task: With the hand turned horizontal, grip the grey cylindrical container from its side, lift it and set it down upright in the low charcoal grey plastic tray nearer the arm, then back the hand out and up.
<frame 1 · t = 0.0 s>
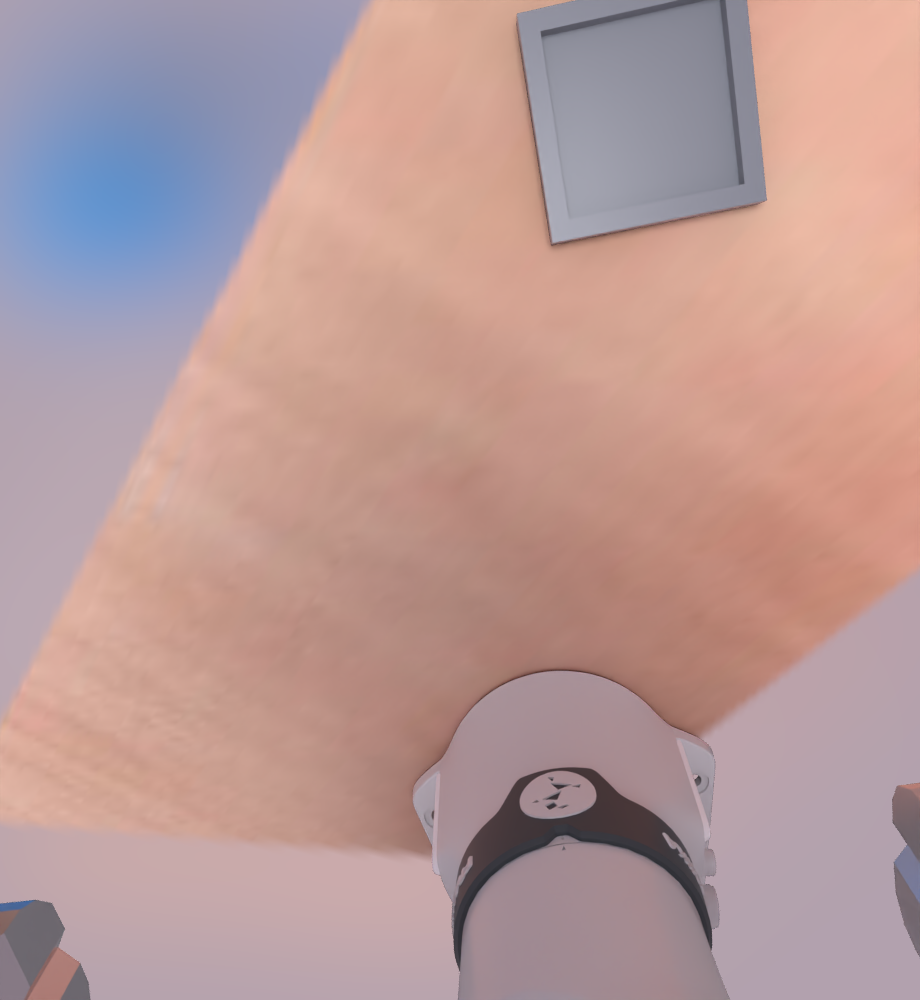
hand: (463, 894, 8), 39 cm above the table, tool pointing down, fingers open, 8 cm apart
tray: (638, 115, 42), on the table
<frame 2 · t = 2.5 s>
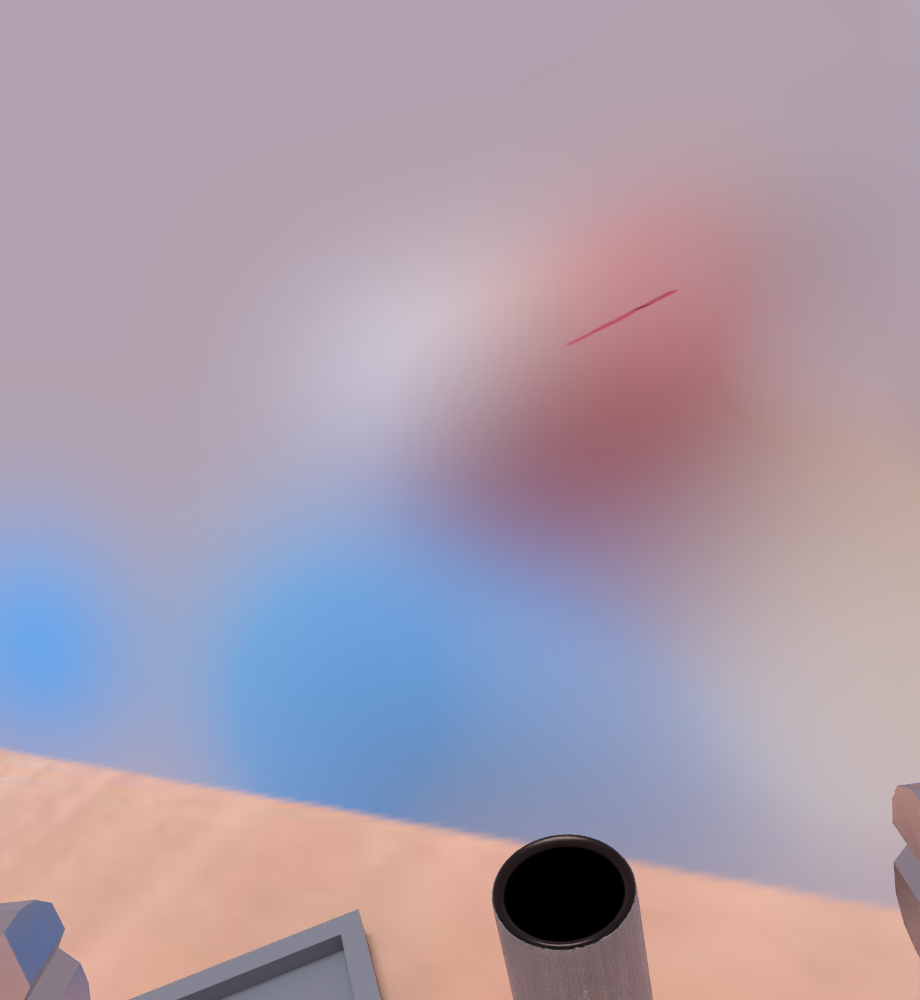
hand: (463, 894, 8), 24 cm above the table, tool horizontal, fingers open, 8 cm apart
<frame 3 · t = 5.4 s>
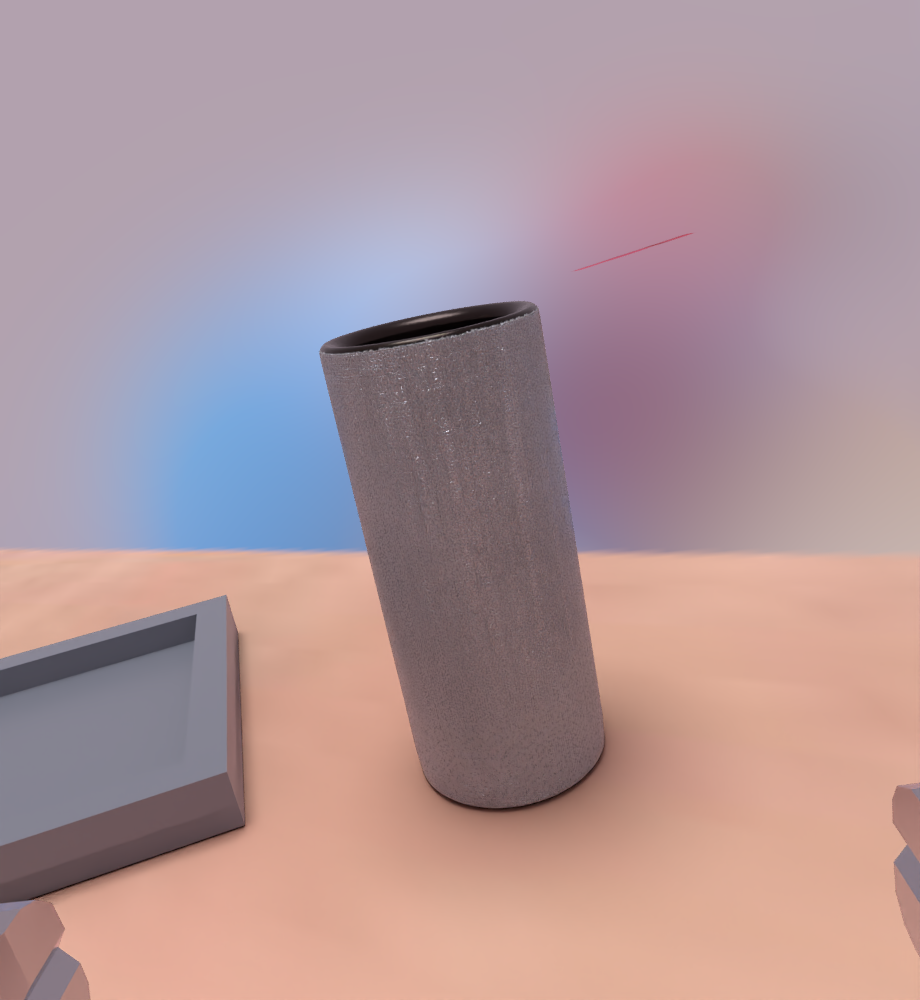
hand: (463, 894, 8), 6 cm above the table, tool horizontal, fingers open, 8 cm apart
tray: (45, 769, 23), on the table
grey cylindrical container: (513, 753, 20), on the table
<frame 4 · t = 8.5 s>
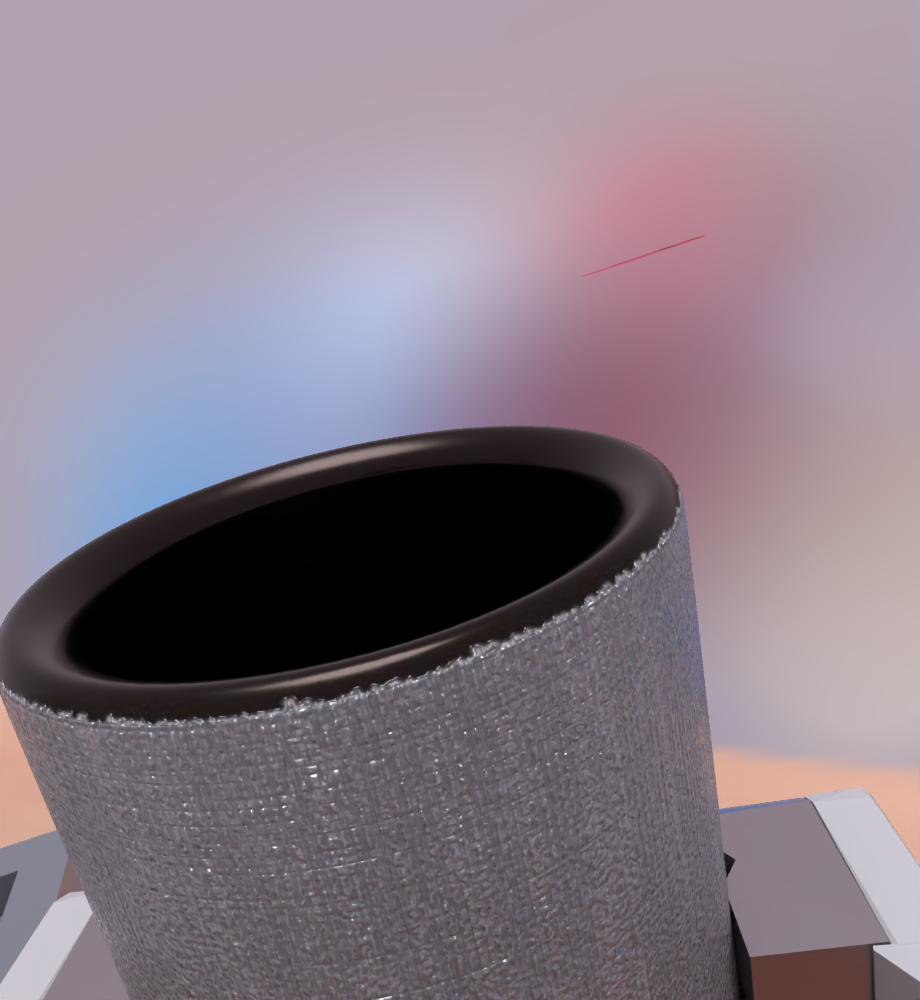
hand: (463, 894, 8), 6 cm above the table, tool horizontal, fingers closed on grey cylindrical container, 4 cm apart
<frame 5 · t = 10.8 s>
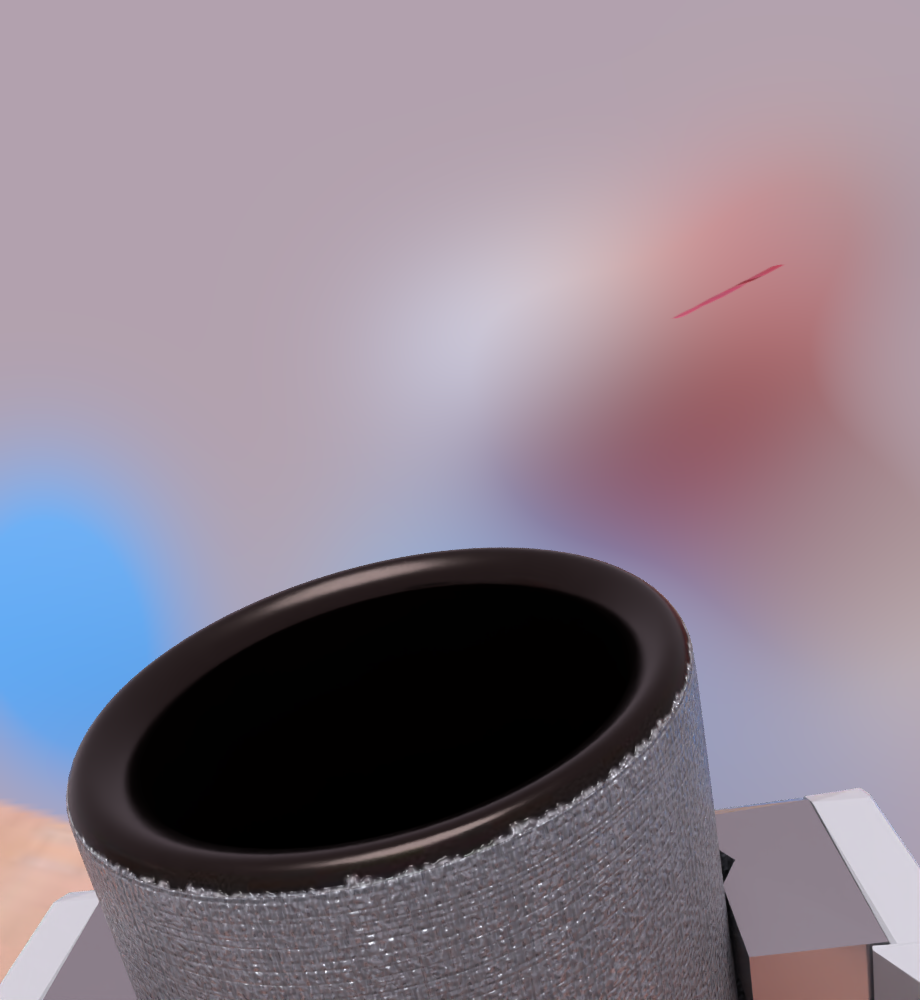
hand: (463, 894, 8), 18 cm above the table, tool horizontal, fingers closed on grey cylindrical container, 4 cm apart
when the fingers open (8 cm above the table, at t = 13.6 s): grey cylindrical container stays where it is, resting on tray.
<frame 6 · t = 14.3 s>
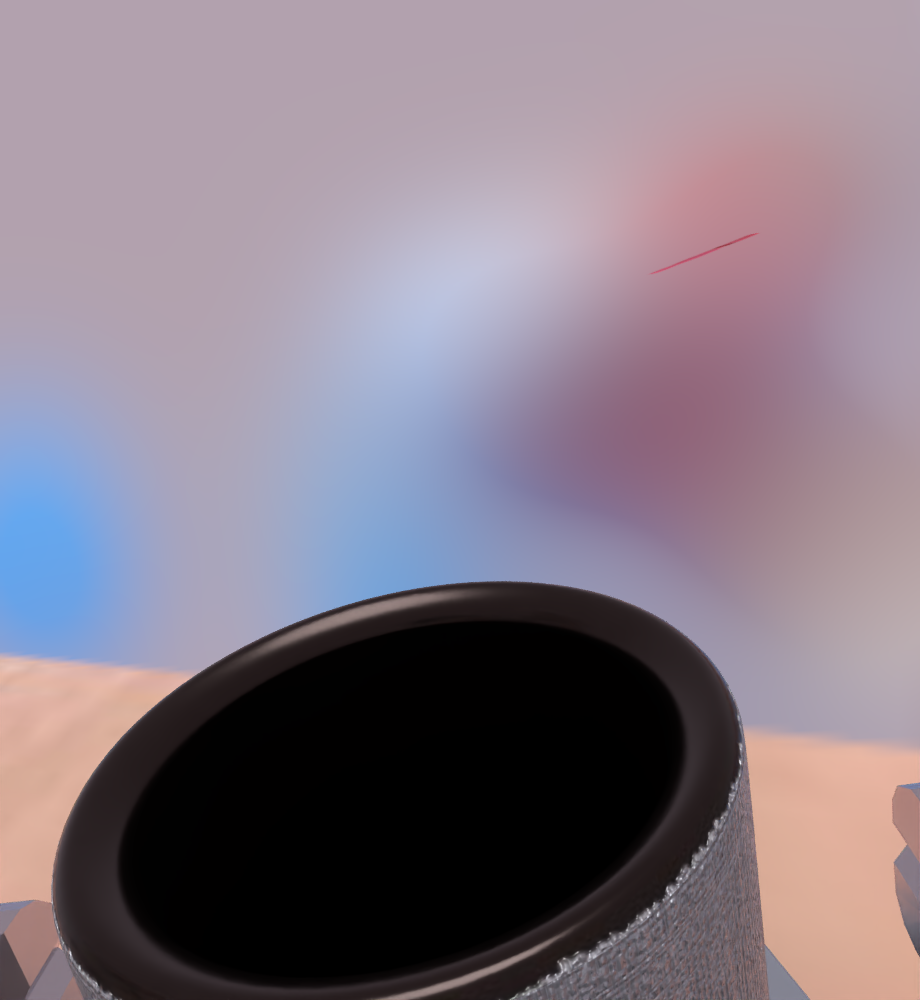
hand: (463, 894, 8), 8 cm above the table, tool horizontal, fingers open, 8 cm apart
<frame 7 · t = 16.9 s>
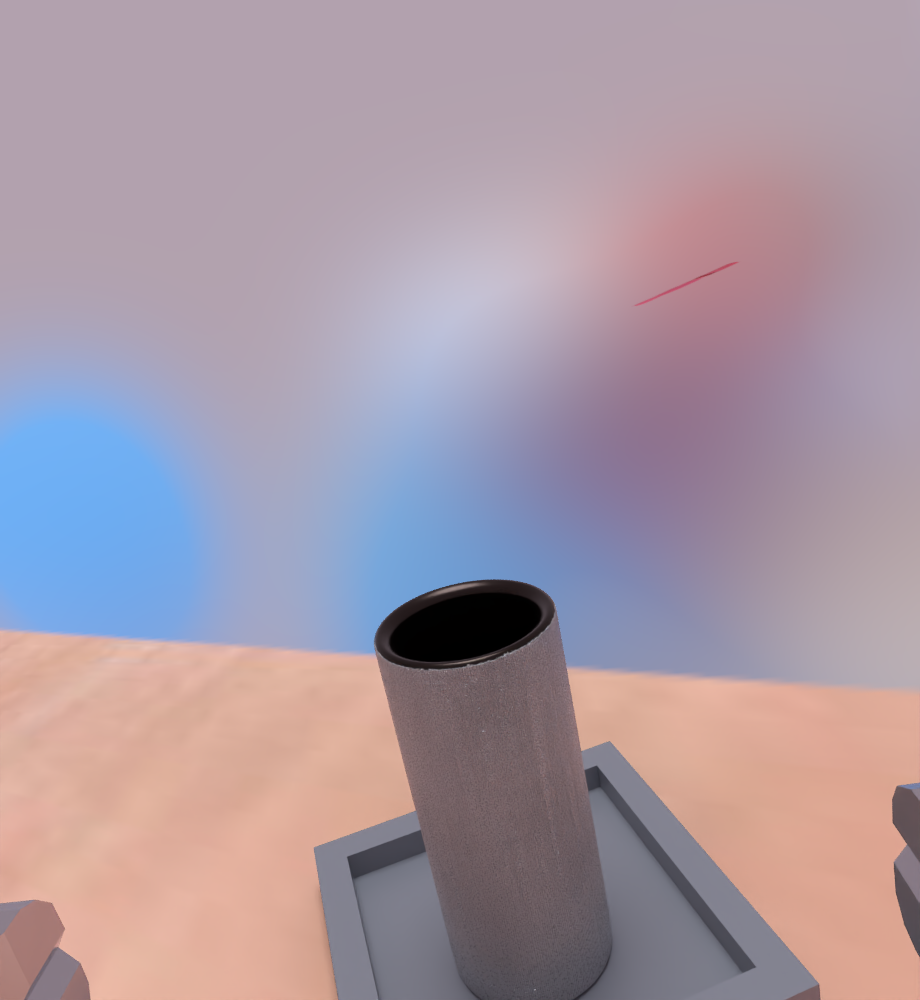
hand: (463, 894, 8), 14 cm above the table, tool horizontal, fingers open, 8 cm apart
tray: (531, 944, 23), on the table
grey cylindrical container: (533, 947, 23), resting on tray
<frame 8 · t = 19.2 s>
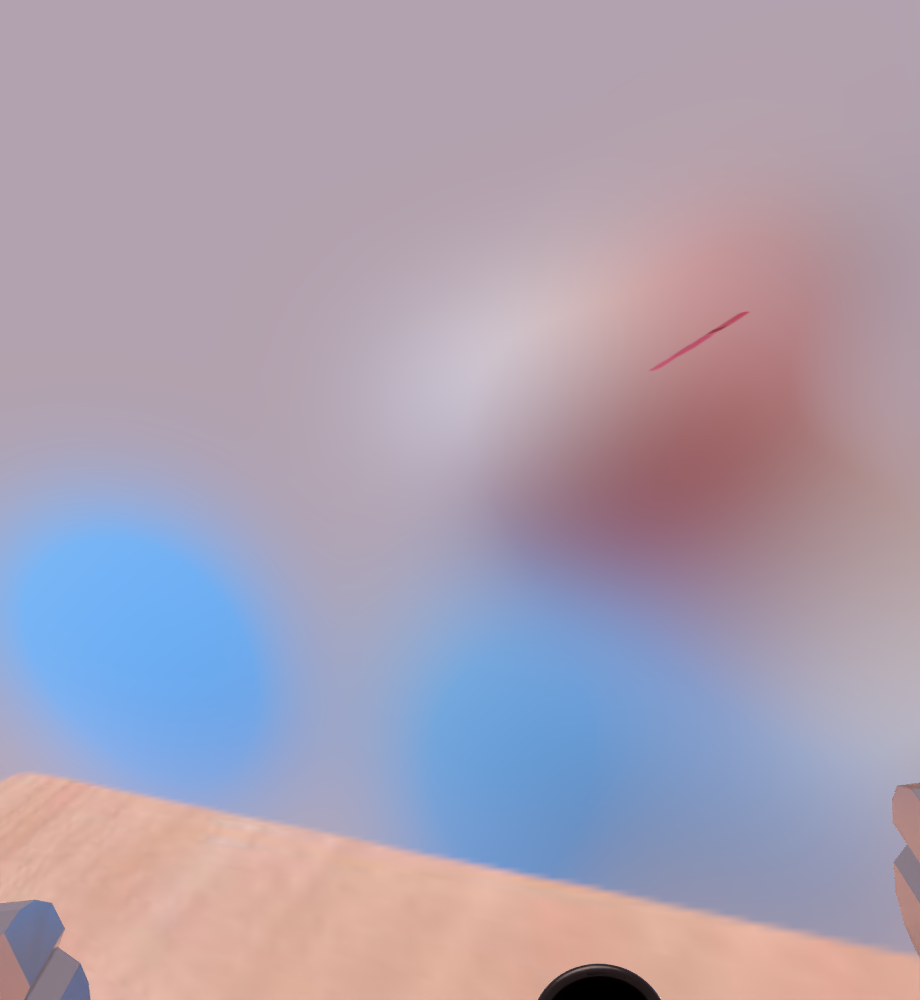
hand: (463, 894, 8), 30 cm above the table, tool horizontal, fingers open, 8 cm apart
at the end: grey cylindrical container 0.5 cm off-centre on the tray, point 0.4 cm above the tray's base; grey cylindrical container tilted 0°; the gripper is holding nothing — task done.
